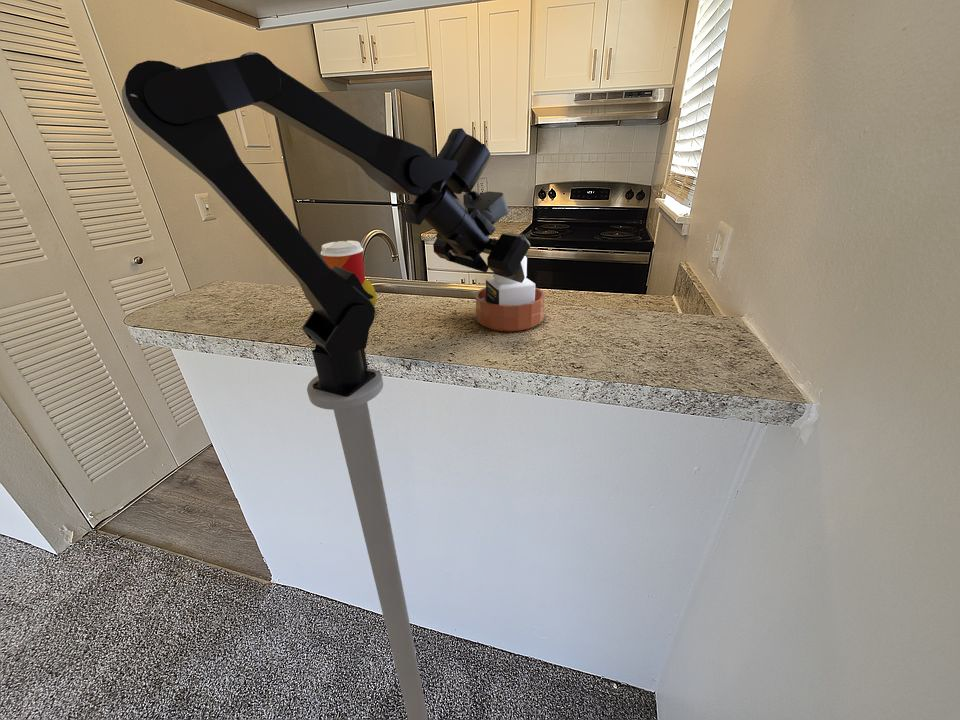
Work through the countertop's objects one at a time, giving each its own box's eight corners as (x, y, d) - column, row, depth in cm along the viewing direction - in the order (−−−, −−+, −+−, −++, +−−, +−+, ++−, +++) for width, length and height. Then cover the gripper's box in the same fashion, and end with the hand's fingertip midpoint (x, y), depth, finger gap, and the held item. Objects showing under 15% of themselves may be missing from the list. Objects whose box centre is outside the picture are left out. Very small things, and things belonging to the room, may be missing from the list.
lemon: (375, 320, 78) (368, 280, 75) (346, 320, 79) (339, 280, 75) (381, 310, 83) (376, 272, 80) (355, 310, 83) (348, 272, 80)
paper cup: (334, 311, 83) (319, 242, 76) (372, 306, 85) (361, 238, 78) (334, 325, 76) (317, 250, 70) (375, 319, 78) (363, 246, 72)
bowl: (531, 337, 69) (532, 309, 67) (465, 327, 74) (464, 301, 72) (550, 312, 79) (552, 287, 77) (492, 304, 84) (491, 281, 82)
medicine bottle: (485, 313, 79) (484, 251, 73) (519, 308, 80) (520, 247, 75) (498, 326, 73) (497, 259, 67) (534, 320, 74) (537, 255, 69)
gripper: (522, 175, 55) (568, 244, 66) (441, 172, 67) (492, 231, 79) (480, 244, 54) (534, 302, 65) (406, 228, 67) (462, 279, 78)
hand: (504, 275), depth 72 cm, fingers open, 9 cm apart
